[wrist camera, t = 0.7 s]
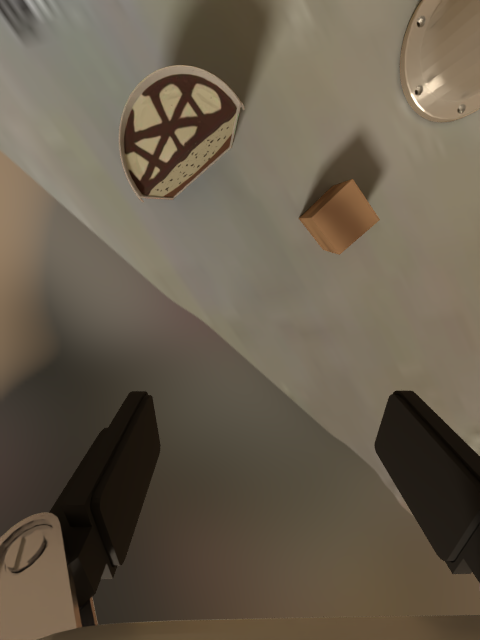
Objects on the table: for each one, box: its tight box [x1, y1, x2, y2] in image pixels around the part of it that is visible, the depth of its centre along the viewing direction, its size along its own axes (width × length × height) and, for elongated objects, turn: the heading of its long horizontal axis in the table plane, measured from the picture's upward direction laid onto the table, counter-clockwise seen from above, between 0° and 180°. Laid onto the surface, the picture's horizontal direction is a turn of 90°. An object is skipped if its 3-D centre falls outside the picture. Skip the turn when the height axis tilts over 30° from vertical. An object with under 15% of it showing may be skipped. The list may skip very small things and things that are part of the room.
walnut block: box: [299, 179, 380, 255], centre depth 30 cm, size 6×6×6 cm
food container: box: [119, 65, 245, 202], centre depth 24 cm, size 12×6×10 cm, turn 126°
